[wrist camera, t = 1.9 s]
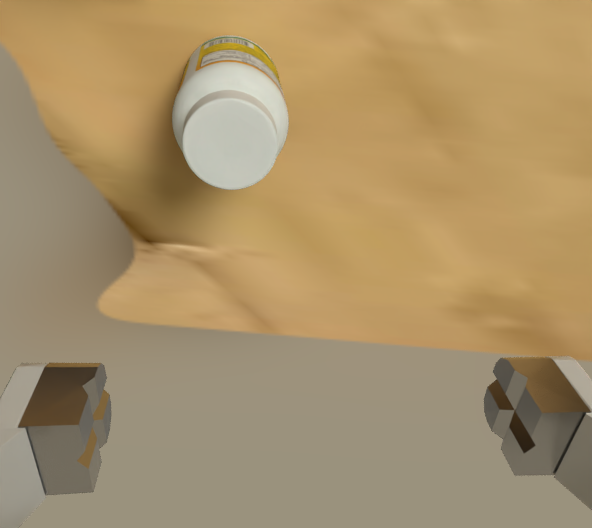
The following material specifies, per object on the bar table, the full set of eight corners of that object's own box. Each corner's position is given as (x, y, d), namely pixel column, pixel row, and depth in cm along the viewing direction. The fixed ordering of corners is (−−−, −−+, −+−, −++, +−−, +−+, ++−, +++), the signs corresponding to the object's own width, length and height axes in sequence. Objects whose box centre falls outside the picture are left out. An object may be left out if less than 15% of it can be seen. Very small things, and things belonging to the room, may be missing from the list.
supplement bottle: (232, 11, 28) (233, 48, 20) (298, 88, 30) (322, 149, 22) (162, 81, 29) (136, 142, 21) (230, 149, 32) (229, 226, 24)
